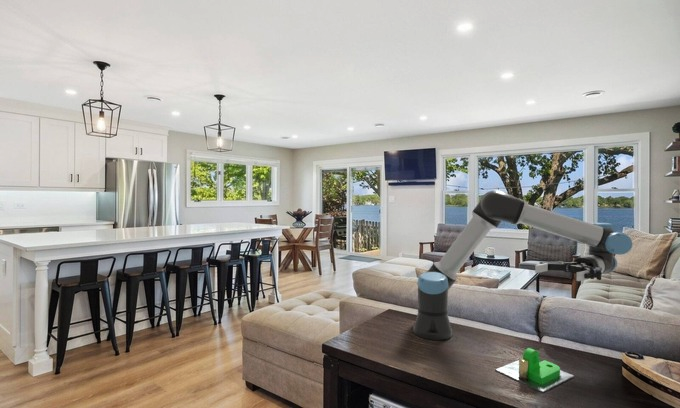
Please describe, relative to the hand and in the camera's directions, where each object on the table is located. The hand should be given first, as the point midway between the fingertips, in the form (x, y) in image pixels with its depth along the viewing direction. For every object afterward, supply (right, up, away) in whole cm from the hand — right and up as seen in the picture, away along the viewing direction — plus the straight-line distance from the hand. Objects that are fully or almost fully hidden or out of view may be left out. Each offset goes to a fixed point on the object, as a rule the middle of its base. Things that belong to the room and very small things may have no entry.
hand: (555, 272), depth 122 cm
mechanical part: (-11, -29, -11) cm, 33 cm away
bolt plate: (-12, -30, -9) cm, 34 cm away
